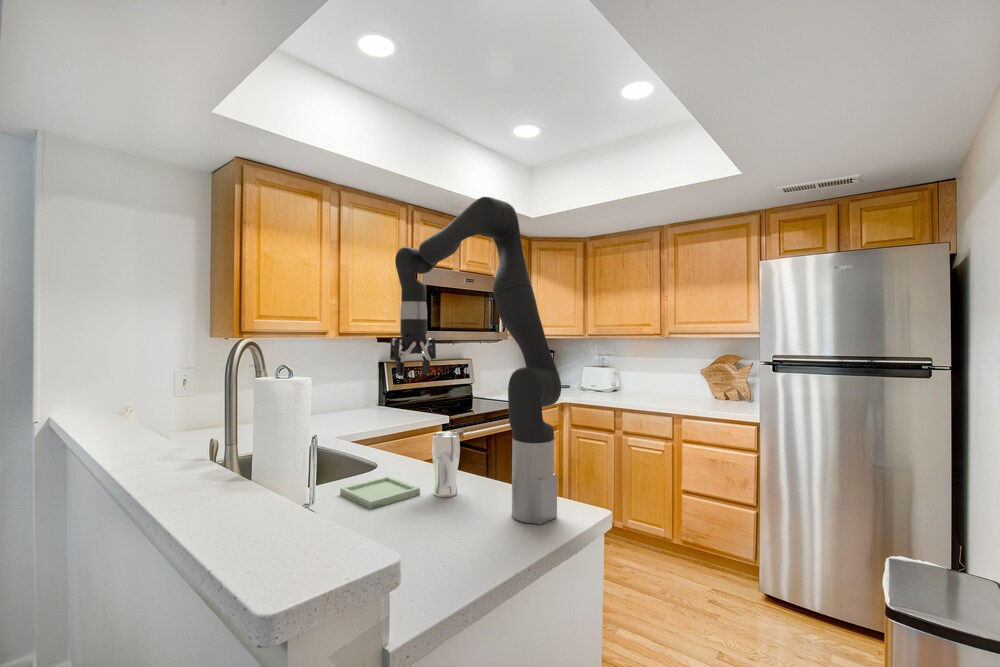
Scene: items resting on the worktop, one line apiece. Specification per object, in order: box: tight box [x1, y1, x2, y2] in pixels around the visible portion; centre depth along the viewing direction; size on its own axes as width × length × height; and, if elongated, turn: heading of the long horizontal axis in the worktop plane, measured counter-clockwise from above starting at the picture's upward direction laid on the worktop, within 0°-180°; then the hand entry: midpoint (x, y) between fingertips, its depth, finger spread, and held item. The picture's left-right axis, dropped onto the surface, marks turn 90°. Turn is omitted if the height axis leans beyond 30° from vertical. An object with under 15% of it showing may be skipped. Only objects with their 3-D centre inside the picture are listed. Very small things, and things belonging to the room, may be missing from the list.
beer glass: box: [431, 431, 461, 498], centre depth 120 cm, size 7×7×15 cm
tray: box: [339, 475, 421, 510], centre depth 119 cm, size 14×14×2 cm
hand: (413, 375), depth 136 cm, fingers open, 8 cm apart
